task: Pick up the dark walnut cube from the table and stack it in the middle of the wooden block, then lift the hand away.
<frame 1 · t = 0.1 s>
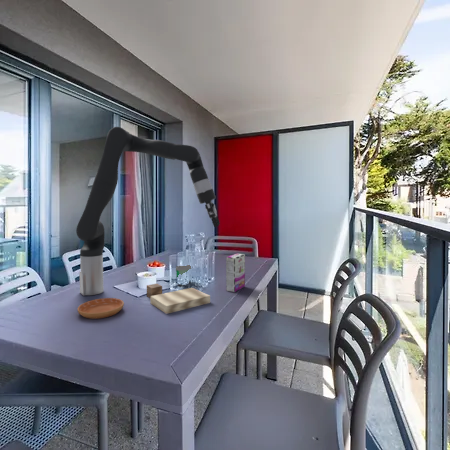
hand: (217, 225, 127), 31 cm above the table, tool tilted 20°, fingers open, 8 cm apart
food container: (185, 283, 148), on the table
wooden block: (180, 303, 118), on the table
candy bar box: (235, 289, 139), on the table
saucer: (101, 312, 108), on the table
walnut cube: (154, 296, 126), on the table
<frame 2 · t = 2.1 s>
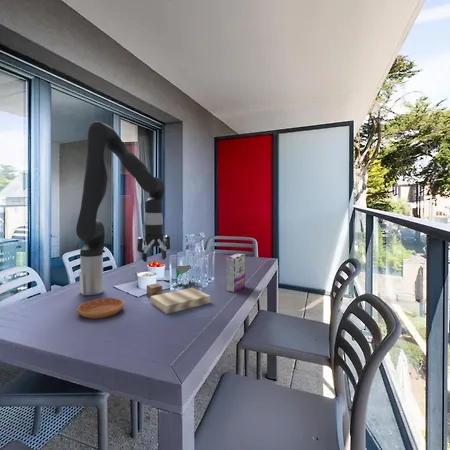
hand: (154, 260, 125), 16 cm above the table, tool pointing down, fingers open, 8 cm apart
nothing on the table moved.
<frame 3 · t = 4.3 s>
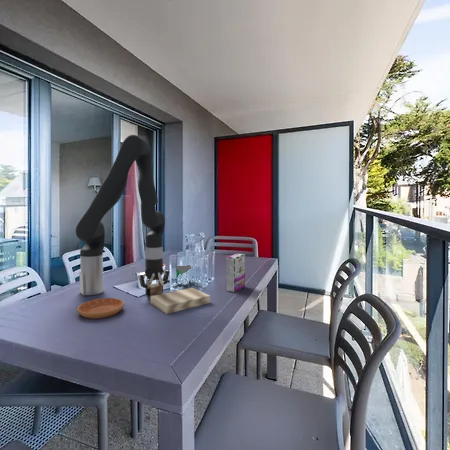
hand: (154, 295, 126), 1 cm above the table, tool pointing down, fingers closed on walnut cube, 5 cm apart
walnut cube: (154, 296, 126), on the table, touching gripper
everything else where it was.
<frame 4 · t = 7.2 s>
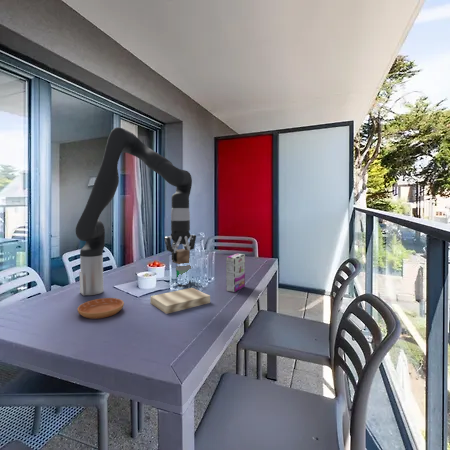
hand: (180, 260, 117), 18 cm above the table, tool pointing down, fingers closed on walnut cube, 5 cm apart
walnut cube: (180, 262, 117), point 17 cm above the table, touching gripper
everything else where it was.
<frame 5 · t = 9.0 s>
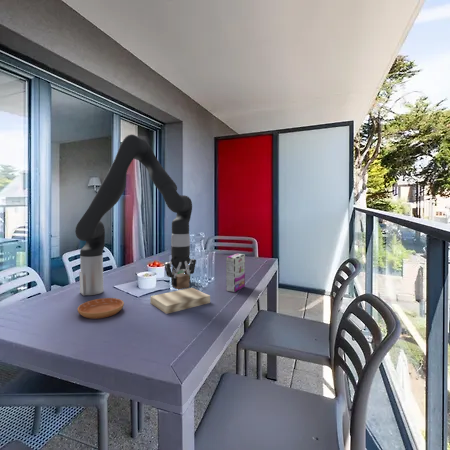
hand: (180, 285, 118), 7 cm above the table, tool pointing down, fingers closed on walnut cube, 5 cm apart
walnut cube: (180, 287, 118), point 7 cm above the table, touching gripper
everything else where it was.
when the fingers open (5 cm above the table, at t = 10.3 s): walnut cube drops 2 cm, resting on wooden block.
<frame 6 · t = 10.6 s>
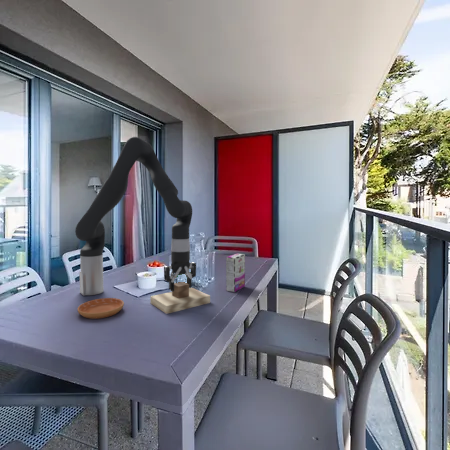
hand: (180, 289, 118), 6 cm above the table, tool pointing down, fingers open, 7 cm apart
walnut cube: (180, 295, 118), point 3 cm above the table, touching wooden block
everything else where it was.
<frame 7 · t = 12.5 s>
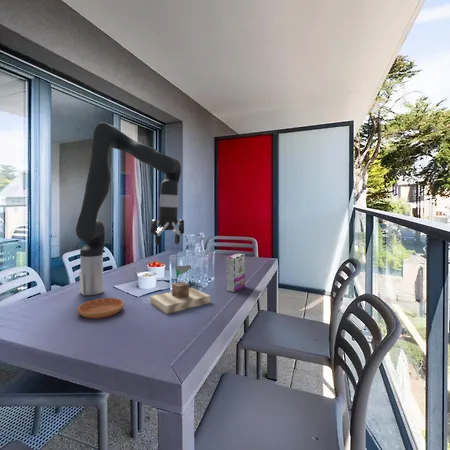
hand: (167, 244, 121), 24 cm above the table, tool pointing down, fingers open, 8 cm apart
nothing on the table moved.
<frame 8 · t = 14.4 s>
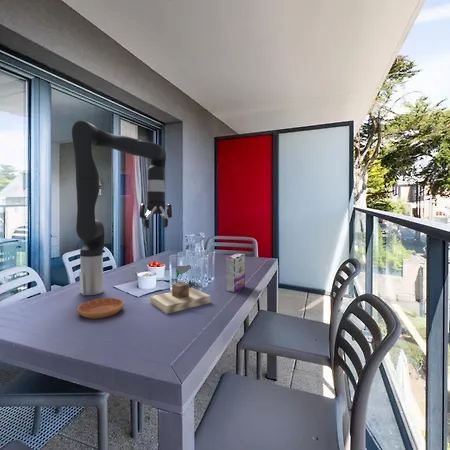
hand: (156, 227, 127), 30 cm above the table, tool pointing down, fingers open, 8 cm apart
nothing on the table moved.
at the end: walnut cube inside the target area on the wooden block (0.0 cm from its centre), point 3.0 cm above the wooden block's base; walnut cube tilted 0°; the gripper is holding nothing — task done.
